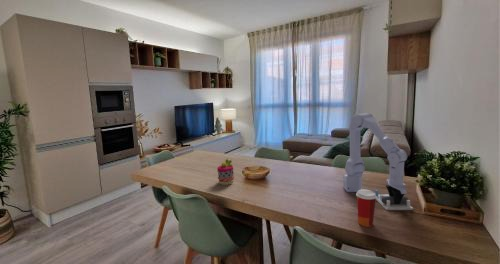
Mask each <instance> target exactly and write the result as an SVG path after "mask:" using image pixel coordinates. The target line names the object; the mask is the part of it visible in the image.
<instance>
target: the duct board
mask: <svg viewBox="0 0 500 264" xmlns="http://www.w3.org/2000/svg"><path fill="white" fill-rule="evenodd" d="M374 193H375V194H376V196H377V197H376V199H375V201H377V202H378V203H379V205H381V206H382V208H384V209H385V211H414V207H413V206H411V200H410V199H408V200H407V202H406V204H390V200H387V204H384V203H383V202H382V198H383V197H385V196H389V193H388V194H386V193H385V194H382V193H381V194H379V190H378V189H375V190H374Z"/></svg>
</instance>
